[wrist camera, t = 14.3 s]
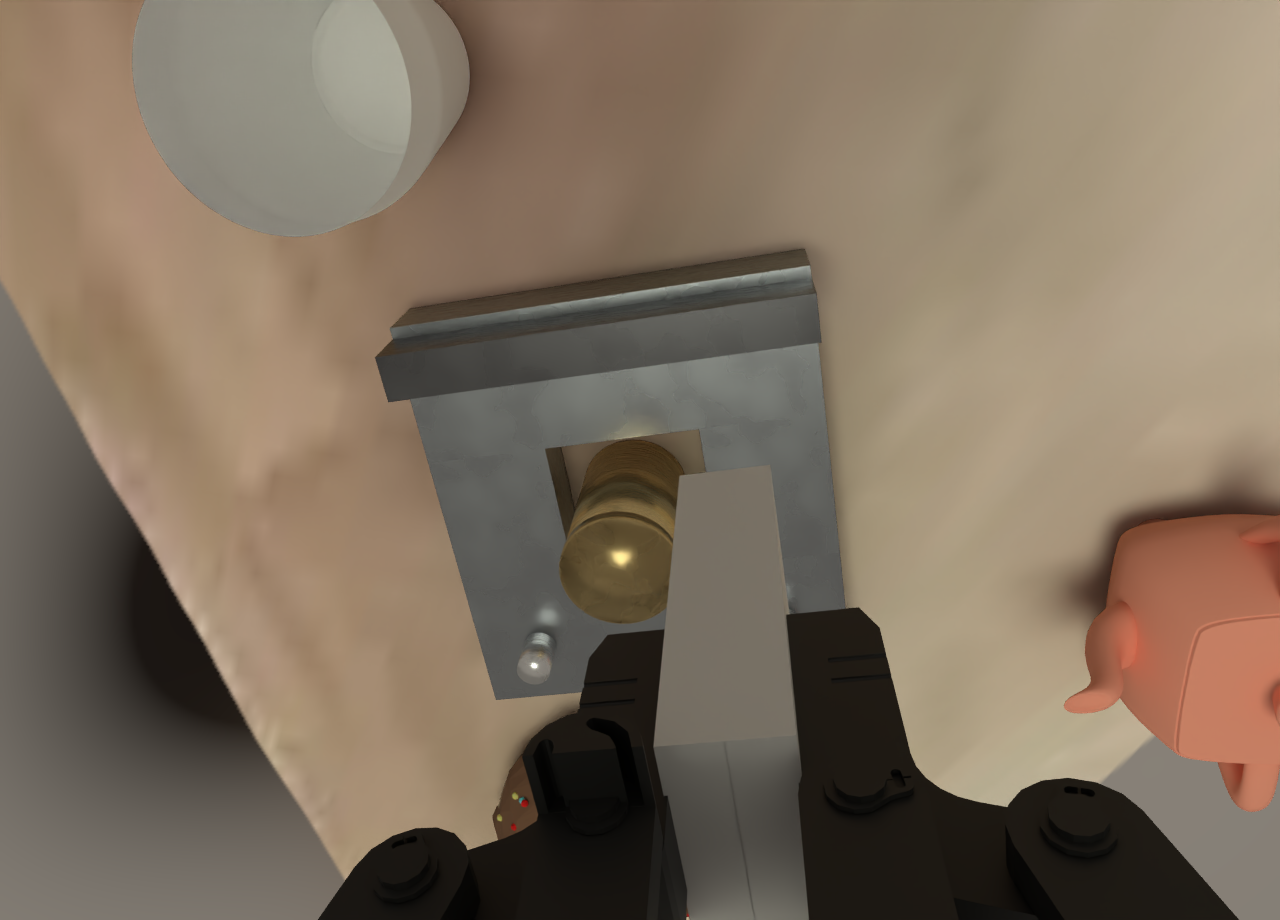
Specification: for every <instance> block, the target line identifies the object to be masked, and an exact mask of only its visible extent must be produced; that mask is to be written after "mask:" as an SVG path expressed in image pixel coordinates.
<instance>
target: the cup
mask: <svg viewBox="0 0 1280 920" xmlns="http://www.w3.org/2000/svg"><path fill="white" fill-rule="evenodd" d="M132 71H133V81H134V88H135V93H136V98H137V102H138V106H139V109H140V113H141V116H142V118H143V121H144V124H145V126H146V129H147V131H148V133H149V135H150V137H151V140H152V142H153V143H154V145H155V147H156V149H157V150H158V152H159V154H160V156H161V157H162V158H163V160H164V161H165V163H166V164H167V166H168V167H169V169H170V170H171V171H172V172H173V174H174V175H175V176H176V177H177V179H178V180H179V181H180V182H181V183H182V184H183V185H184V186H185V187H186V188H187V189H188V190H189V191H190V192H191V193H192V194H193V195H194V196H195V197H197V198H198V199H199V200H200V201H201V202H203V203H204V204H205V205H207V206H208V207H209V208H211V209H212V210H214V211H215V212H217V213H218V214H220V215H221V216H223V217H225V218H227V219H229V220H231V221H232V222H235V223H237V224H239V225H241V226H244V227H246V228H249V229H252V230H255V231H258V232H262V233H267V234H271V235H278V236H289V237H301V236H312V235H318V234H323V233H326V232H330V231H333V230H336V229H338V228H341V227H343V226H346V225H348V224H350V223H352V222H355V221H358V220H362V219H365V218H368V217H370V216H373V215H375V214H377V213H379V212H381V211H383V210H384V209H386V208H388V207H389V206H391V205H392V204H393V203H395V202H396V201H398V200H399V199H400V198H401V197H402V196H403V195H404V194H405V193H407V192H408V191H409V190H410V189H411V187H412V186H413V185H414V184H415V183H416V182H417V181H418V179H419V178H420V177H421V175H422V174H423V172H424V171H425V170H426V168H427V167H428V165H429V164H430V162H431V161H432V159H433V158H434V156H435V155H436V153H437V152H438V150H439V149H440V147H441V146H442V144H443V143H444V141H445V140H446V138H447V137H448V135H449V134H450V132H451V131H452V129H453V128H454V126H455V125H456V123H457V122H458V120H459V118H460V116H461V114H462V112H463V110H464V107H465V104H466V101H467V97H468V93H469V85H470V69H469V61H468V56H467V52H466V49H465V46H464V42H463V40H462V38H461V35H460V33H459V31H458V30H457V28H456V26H455V24H454V23H453V21H452V20H451V18H450V17H449V16H448V15H447V13H446V12H445V11H444V10H443V9H442V8H441V7H440V6H439V5H438V4H437V3H436V2H435V1H434V0H145V1H144V4H143V6H142V8H141V11H140V14H139V17H138V21H137V24H136V28H135V34H134V39H133V51H132Z"/></svg>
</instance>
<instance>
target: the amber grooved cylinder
mask: <svg viewBox="0 0 1280 920" xmlns="http://www.w3.org/2000/svg"><path fill="white" fill-rule="evenodd" d="M681 475H685V474H684V472H683V469H682V467H681V466H680V464H679V462H678V461H677V460H676V459H675V457H674V456H673V455H672V454H671V453H669V452H668V451H667V450H665V449H664V448H662V447H660V446H658V445H656V444H654V443H651V442H647V441H642V440H625V441H620V442H617V443H614V444H612V445H609V446H607V447H606V448H604V449H603V450H601V451H600V452H599V453H598V454H597V455H596V456H595V457H594V458H593V460H592V461H591V463H590V465H589V467H588V469H587V472H586V475H585V479H584V482H583V486H582V489H581V492H580V496H579V499H578V503H577V506H576V510H575V513H574V516H573V520H572V523H571V527H570V530H569V534H568V537H567V540H566V542H565V544H564V547H563V550H562V553H561V557H560V562H559V575H560V580H561V583H562V586H563V588H564V590H565V592H566V594H567V595H568V597H569V598H570V599H571V601H572V602H573V603H574V604H575V605H576V606H577V607H578V608H579V609H581V610H582V611H584V612H585V613H586V614H588V615H590V616H592V617H594V618H596V619H599V620H602V621H605V622H610V623H616V624H631V623H637V622H641V621H645V620H647V619H650V618H652V617H654V616H656V615H658V614H659V613H661V612H662V611H663V610H665V609H666V608H667V601H668V590H669V580H670V570H671V559H672V549H673V538H674V528H675V518H676V507H677V497H678V487H679V476H681Z"/></svg>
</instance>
